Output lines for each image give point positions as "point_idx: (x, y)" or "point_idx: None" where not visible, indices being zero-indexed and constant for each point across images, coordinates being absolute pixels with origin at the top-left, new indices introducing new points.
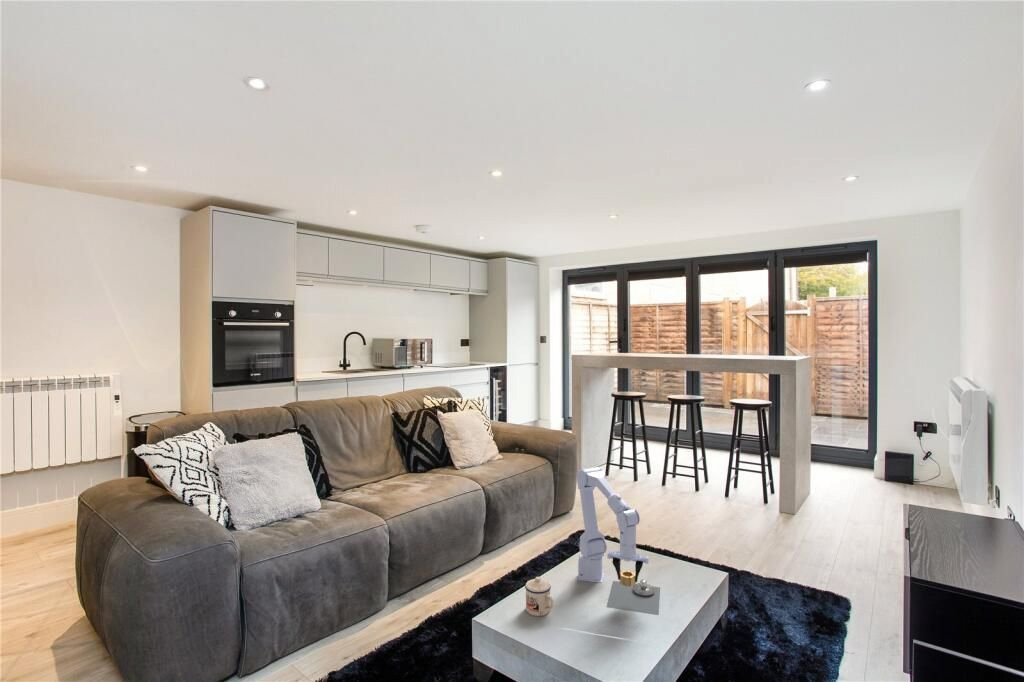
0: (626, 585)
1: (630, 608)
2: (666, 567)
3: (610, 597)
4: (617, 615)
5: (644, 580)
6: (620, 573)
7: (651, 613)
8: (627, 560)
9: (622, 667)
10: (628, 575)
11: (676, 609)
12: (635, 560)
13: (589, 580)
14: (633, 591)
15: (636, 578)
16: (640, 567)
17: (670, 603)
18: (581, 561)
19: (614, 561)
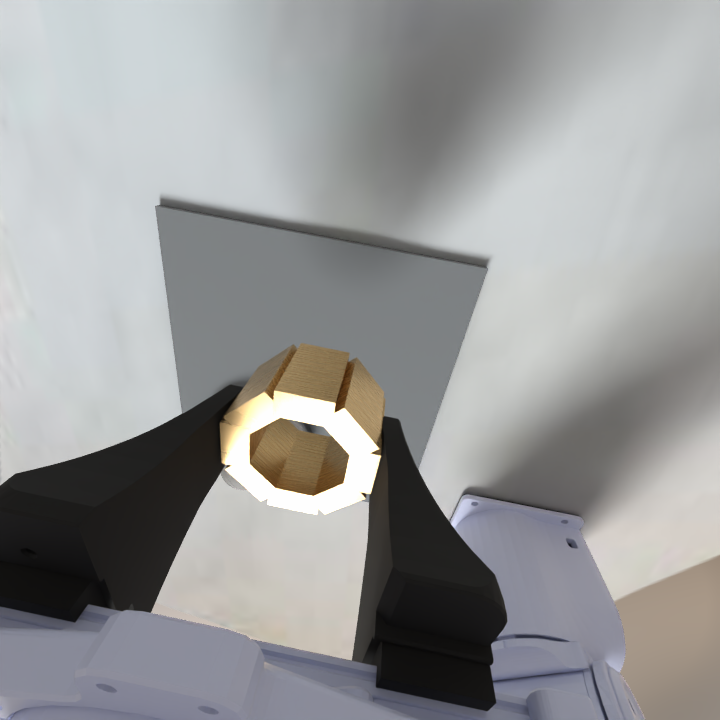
0: (328, 352)
1: (330, 266)
2: (189, 577)
3: (441, 375)
4: (425, 175)
5: (234, 481)
6: (373, 468)
7: (199, 219)
8: (144, 650)
9: None
10: (300, 465)
11: (82, 293)
12: (16, 630)
13: (526, 510)
14: (308, 429)
15: (212, 401)
16: (23, 480)
17: (124, 348)
18: (605, 627)
19: (467, 625)
